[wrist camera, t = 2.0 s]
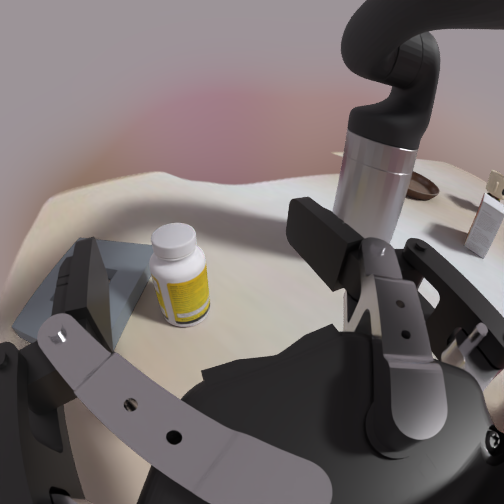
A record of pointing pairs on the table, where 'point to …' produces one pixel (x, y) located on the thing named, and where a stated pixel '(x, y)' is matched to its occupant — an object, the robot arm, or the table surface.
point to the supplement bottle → (179, 275)
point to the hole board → (120, 288)
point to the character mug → (496, 185)
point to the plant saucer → (421, 187)
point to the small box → (485, 225)
